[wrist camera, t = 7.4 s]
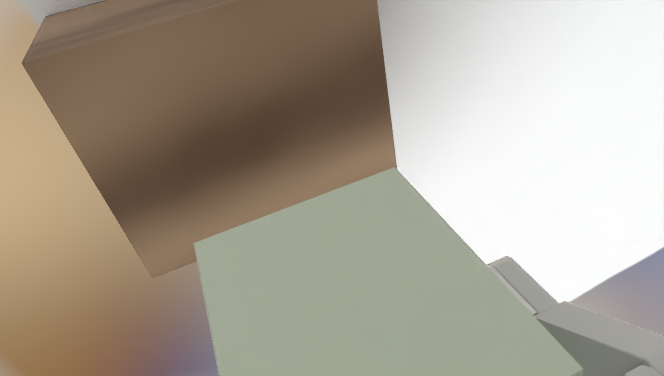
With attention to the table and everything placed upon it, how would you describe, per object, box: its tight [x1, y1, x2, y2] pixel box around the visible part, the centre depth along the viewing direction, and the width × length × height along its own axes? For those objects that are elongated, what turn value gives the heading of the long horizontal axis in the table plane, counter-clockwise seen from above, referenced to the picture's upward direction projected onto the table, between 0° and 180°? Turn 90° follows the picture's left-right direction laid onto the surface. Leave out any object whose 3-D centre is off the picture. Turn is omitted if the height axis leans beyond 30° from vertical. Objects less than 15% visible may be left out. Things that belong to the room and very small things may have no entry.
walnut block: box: [22, 0, 397, 278], centre depth 21 cm, size 10×12×6 cm
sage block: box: [194, 167, 583, 376], centre depth 10 cm, size 5×5×6 cm
